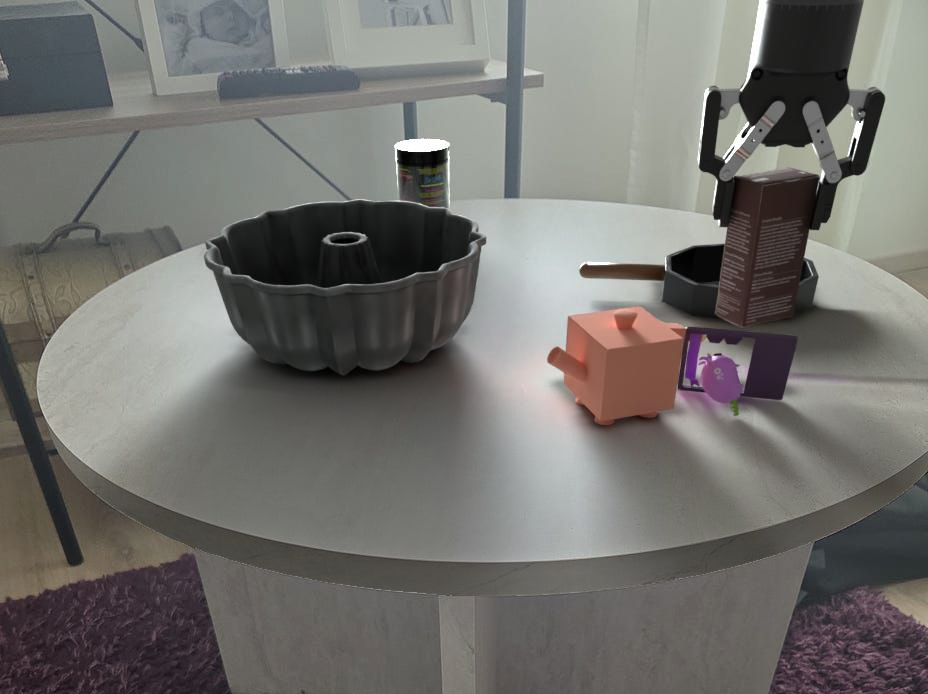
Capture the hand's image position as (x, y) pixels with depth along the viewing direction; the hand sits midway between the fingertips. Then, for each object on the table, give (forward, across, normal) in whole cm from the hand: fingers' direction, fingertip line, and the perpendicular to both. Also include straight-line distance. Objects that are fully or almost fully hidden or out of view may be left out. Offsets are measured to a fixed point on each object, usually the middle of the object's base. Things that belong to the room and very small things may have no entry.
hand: (767, 226), depth 79 cm
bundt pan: (+12, -38, -1) cm, 40 cm away
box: (+8, 0, 0) cm, 8 cm away
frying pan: (+12, -5, +14) cm, 19 cm away
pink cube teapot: (+12, -12, -13) cm, 21 cm away
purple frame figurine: (+12, -2, -11) cm, 16 cm away
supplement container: (+12, -38, +36) cm, 54 cm away
